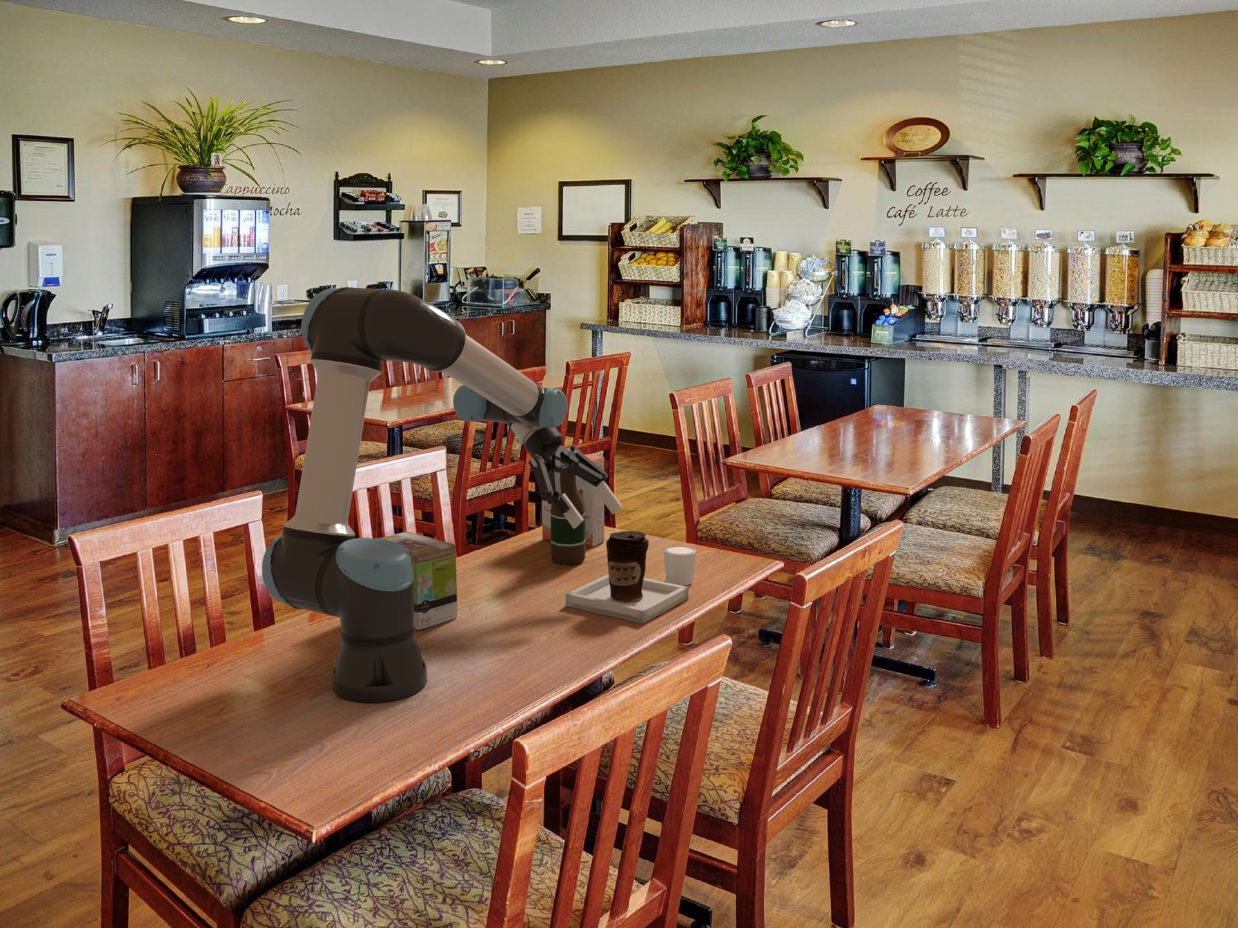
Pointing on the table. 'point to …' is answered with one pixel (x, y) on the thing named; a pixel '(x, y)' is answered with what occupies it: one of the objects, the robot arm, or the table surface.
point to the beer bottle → (568, 526)
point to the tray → (651, 605)
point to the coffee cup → (626, 564)
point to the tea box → (431, 578)
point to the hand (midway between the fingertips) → (598, 517)
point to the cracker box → (592, 510)
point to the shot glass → (679, 564)
